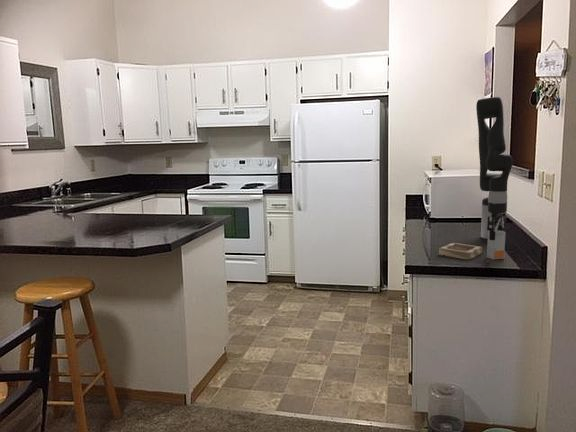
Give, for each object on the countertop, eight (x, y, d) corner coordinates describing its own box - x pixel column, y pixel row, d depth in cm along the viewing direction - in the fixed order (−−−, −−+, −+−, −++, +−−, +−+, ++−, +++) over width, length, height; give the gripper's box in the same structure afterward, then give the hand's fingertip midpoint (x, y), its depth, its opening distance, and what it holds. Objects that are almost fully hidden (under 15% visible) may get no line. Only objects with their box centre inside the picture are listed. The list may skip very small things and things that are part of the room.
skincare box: (493, 260, 211) (494, 232, 209) (486, 257, 215) (487, 231, 213) (504, 258, 213) (506, 231, 211) (498, 256, 217) (499, 229, 215)
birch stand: (452, 248, 232) (452, 242, 232) (482, 253, 223) (482, 246, 222) (438, 254, 223) (439, 248, 222) (469, 259, 213) (469, 252, 212)
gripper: (495, 198, 217) (493, 234, 220) (482, 202, 207) (480, 240, 210) (512, 200, 212) (510, 236, 215) (500, 204, 202) (498, 242, 205)
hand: (496, 238), depth 212 cm, fingers open, 8 cm apart
